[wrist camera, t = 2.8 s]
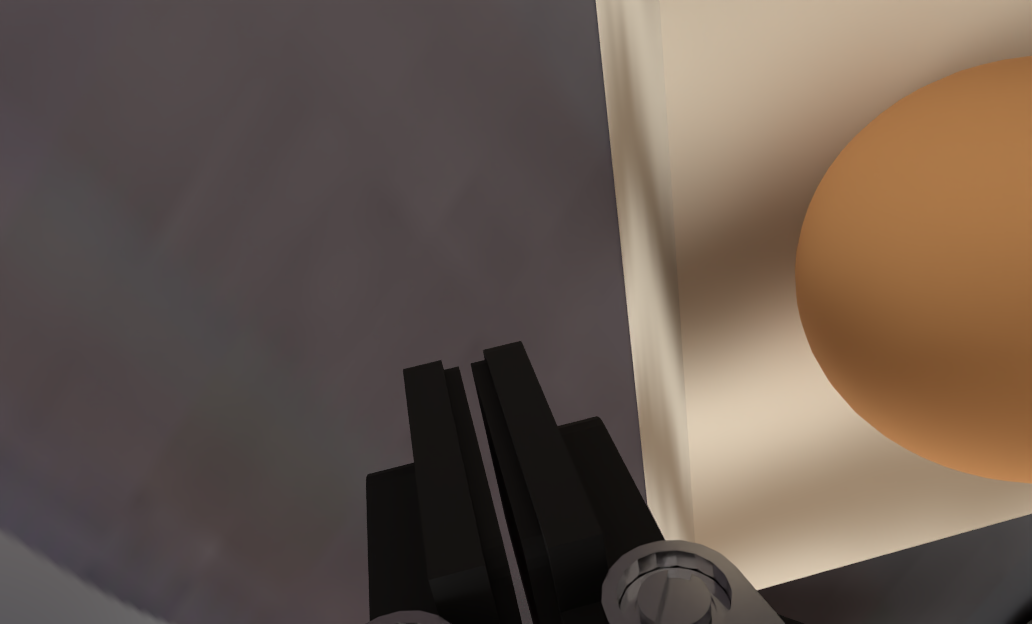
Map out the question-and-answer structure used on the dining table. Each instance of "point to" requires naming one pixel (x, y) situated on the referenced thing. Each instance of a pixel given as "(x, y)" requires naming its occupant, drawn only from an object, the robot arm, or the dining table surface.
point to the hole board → (769, 268)
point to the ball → (932, 272)
